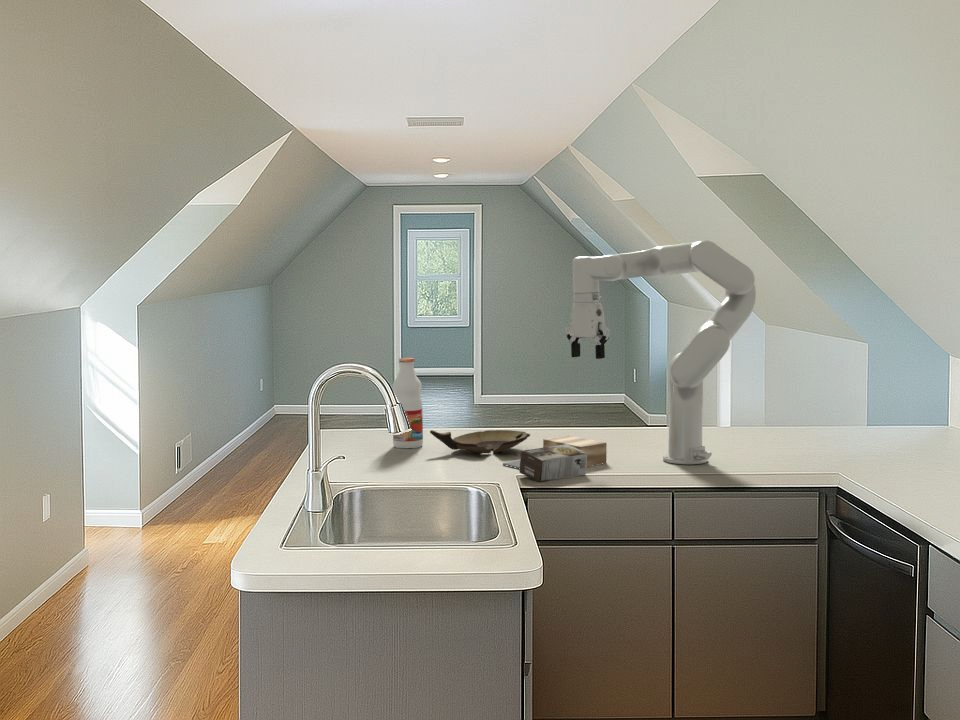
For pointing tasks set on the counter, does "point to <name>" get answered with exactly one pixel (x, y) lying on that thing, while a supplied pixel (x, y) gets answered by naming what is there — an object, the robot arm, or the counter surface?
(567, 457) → the coffee box
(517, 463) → the rubber mat
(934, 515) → the counter surface
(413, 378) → the fruit juice
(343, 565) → the counter surface
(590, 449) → the oak step
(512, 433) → the brown shallow curved piece
